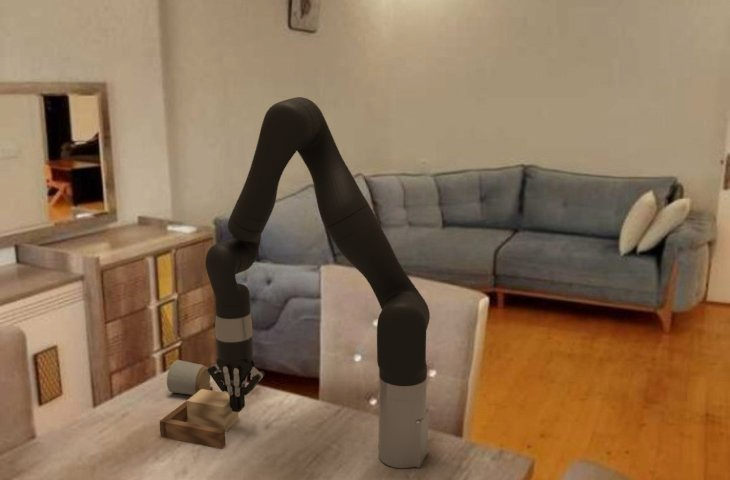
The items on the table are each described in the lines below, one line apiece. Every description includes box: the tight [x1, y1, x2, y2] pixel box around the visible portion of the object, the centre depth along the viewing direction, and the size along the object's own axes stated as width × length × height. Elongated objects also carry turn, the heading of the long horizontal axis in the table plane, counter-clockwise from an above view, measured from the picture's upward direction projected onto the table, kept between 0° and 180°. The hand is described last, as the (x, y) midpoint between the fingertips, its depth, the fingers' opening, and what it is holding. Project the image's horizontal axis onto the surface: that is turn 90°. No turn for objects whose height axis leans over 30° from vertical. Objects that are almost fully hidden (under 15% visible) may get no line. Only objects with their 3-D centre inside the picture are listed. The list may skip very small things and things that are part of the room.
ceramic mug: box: [166, 359, 211, 396], centre depth 166 cm, size 11×8×8 cm
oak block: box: [186, 389, 239, 432], centre depth 151 cm, size 9×6×6 cm, turn 72°
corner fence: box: [159, 385, 227, 450], centre depth 151 cm, size 15×18×4 cm
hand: (237, 410), depth 149 cm, fingers closed
